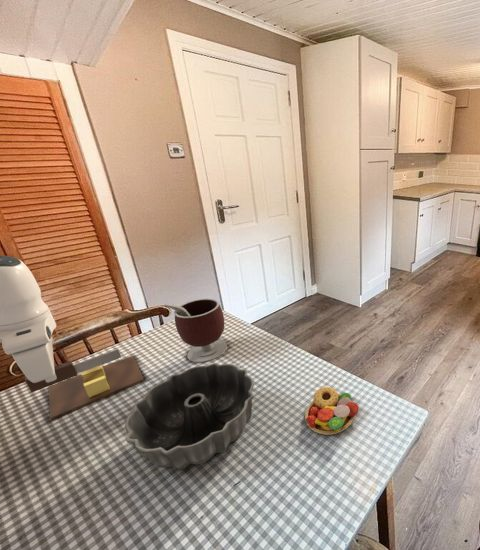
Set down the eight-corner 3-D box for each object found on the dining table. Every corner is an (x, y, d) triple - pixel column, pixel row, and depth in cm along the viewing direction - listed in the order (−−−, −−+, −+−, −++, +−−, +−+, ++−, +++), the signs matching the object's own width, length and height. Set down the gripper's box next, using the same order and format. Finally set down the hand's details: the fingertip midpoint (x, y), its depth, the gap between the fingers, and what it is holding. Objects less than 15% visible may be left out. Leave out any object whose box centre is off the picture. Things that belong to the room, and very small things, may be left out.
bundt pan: (205, 503, 59) (194, 467, 55) (107, 465, 66) (91, 432, 62) (279, 403, 82) (275, 373, 78) (201, 383, 89) (194, 355, 86)
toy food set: (321, 391, 86) (321, 382, 85) (364, 403, 82) (364, 394, 80) (295, 428, 75) (294, 418, 73) (344, 445, 70) (343, 435, 69)
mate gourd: (229, 336, 112) (219, 287, 105) (230, 357, 100) (218, 304, 93) (182, 346, 106) (167, 295, 99) (176, 370, 95) (160, 314, 87)
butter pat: (89, 397, 83) (83, 386, 81) (88, 394, 84) (83, 383, 82) (109, 389, 86) (105, 378, 84) (108, 386, 87) (104, 375, 85)
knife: (31, 392, 70) (24, 380, 69) (31, 388, 71) (25, 376, 70) (122, 358, 81) (117, 347, 80) (120, 355, 82) (116, 344, 81)
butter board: (51, 421, 77) (43, 406, 75) (49, 389, 87) (42, 375, 86) (144, 381, 90) (139, 367, 88) (133, 358, 101) (128, 345, 99)
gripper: (8, 315, 72) (33, 363, 77) (2, 352, 59) (32, 406, 64) (45, 306, 76) (66, 352, 81) (47, 338, 63) (72, 390, 68)
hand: (51, 376), depth 72 cm, fingers closed on knife, 2 cm apart
